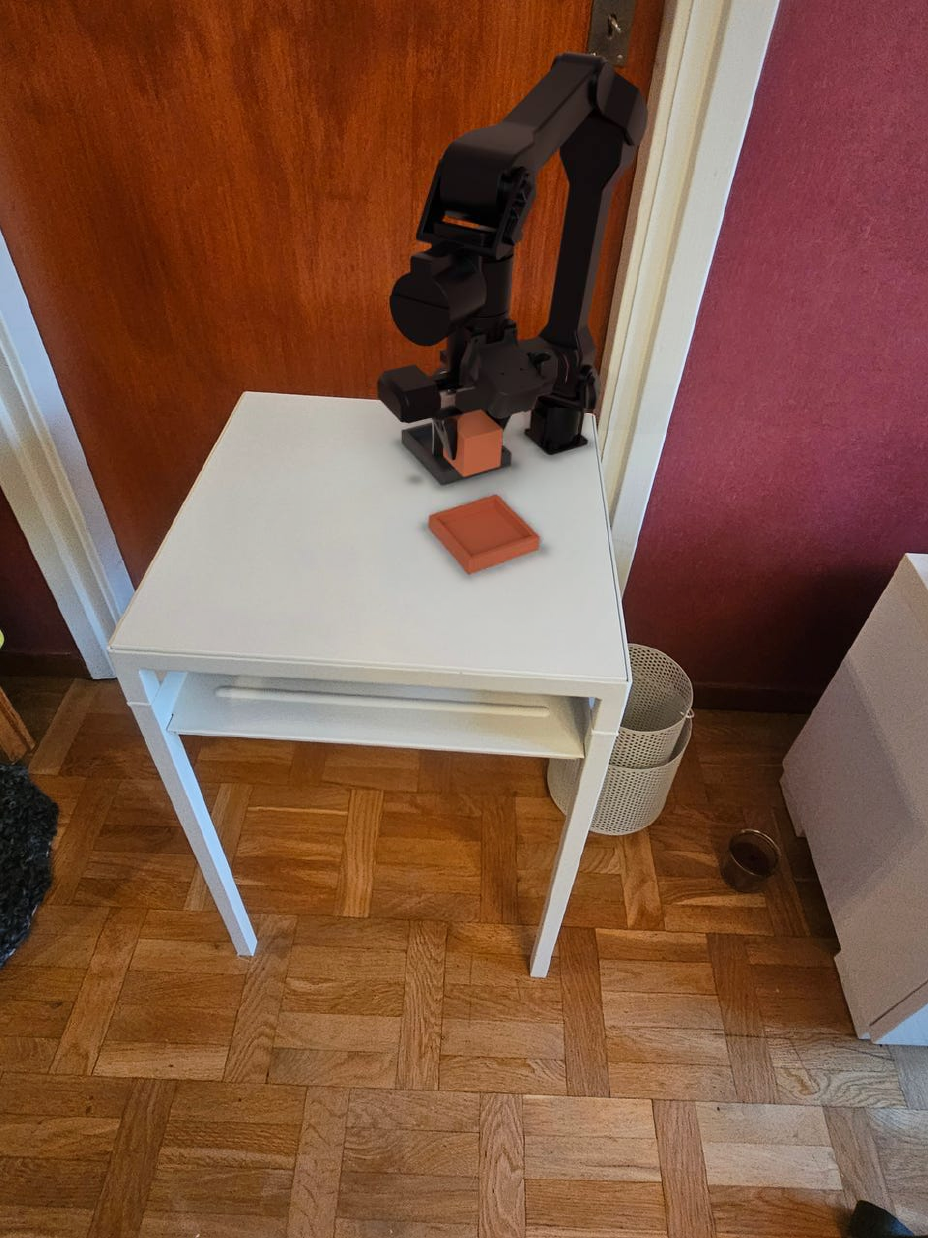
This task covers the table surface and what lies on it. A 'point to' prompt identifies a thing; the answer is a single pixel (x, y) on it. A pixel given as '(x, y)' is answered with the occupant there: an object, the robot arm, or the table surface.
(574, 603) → the table surface
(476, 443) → the terracotta block
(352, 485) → the table surface
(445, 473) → the charcoal tray
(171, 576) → the table surface
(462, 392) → the battery charger
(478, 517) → the terracotta tray
